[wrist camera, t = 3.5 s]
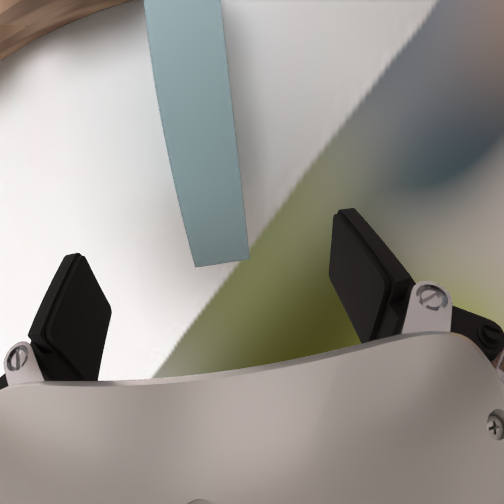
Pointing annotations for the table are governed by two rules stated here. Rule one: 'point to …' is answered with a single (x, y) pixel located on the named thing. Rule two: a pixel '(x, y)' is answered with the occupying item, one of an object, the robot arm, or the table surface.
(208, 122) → the teal slotted board
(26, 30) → the walnut slotted board
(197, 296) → the table surface
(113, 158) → the table surface
